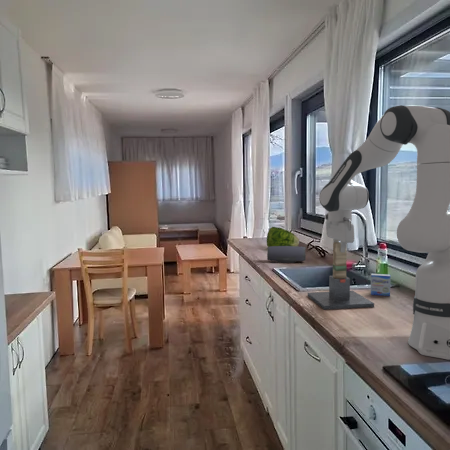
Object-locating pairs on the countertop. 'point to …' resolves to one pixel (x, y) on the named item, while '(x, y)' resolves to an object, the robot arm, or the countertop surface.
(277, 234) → the lettuce
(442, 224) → the robot arm
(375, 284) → the medicine box
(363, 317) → the countertop surface
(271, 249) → the bluetooth speaker
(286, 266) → the countertop surface
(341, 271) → the post
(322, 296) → the stand
